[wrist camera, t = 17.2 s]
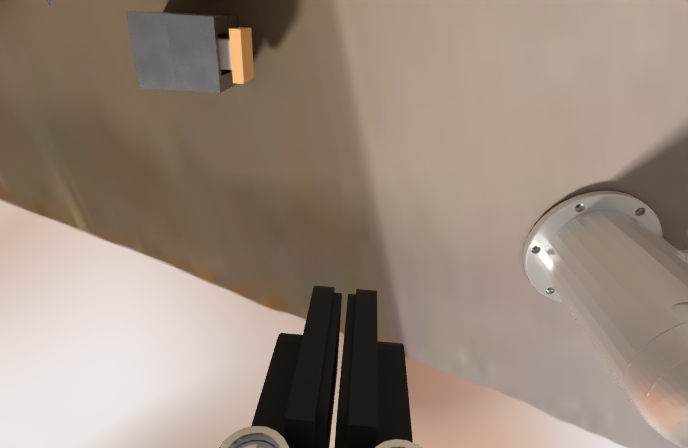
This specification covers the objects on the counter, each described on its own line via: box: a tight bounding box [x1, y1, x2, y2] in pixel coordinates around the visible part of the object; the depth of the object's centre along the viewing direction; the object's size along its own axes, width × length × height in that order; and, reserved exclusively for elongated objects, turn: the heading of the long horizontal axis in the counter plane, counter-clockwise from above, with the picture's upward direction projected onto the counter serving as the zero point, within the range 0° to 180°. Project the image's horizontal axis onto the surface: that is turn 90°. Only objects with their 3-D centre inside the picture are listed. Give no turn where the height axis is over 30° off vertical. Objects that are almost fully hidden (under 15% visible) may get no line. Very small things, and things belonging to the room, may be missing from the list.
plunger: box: [218, 27, 254, 84], centre depth 30 cm, size 5×4×3 cm
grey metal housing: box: [126, 12, 238, 93], centre depth 31 cm, size 6×5×6 cm
